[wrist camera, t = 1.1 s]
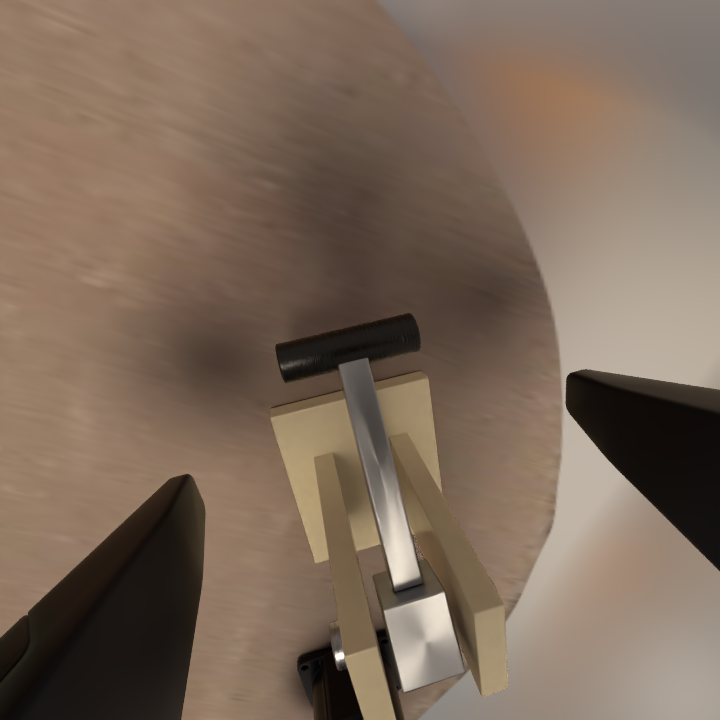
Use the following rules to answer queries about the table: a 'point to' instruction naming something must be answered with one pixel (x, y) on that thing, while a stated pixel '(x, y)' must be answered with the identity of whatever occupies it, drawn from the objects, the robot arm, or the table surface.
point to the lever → (385, 495)
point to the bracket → (358, 531)
